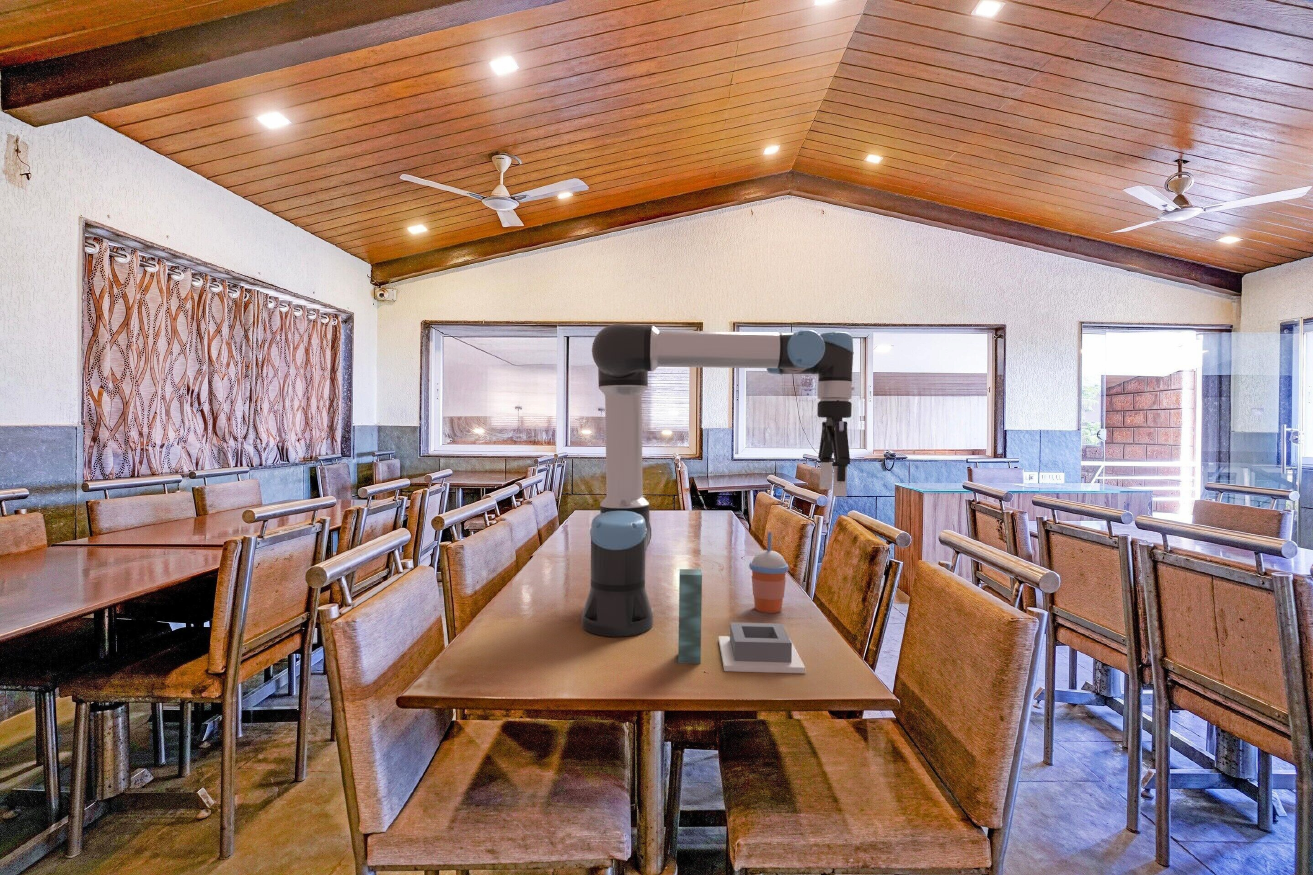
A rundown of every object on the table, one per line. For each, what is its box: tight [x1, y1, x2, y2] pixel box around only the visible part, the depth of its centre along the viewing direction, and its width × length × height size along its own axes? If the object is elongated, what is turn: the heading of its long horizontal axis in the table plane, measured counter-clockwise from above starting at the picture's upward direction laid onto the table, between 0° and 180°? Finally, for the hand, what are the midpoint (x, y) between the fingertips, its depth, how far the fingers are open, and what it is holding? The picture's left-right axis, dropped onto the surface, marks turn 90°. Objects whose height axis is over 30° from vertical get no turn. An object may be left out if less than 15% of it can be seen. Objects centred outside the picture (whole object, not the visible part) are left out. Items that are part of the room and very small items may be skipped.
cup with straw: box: [748, 531, 790, 614], centre depth 136 cm, size 9×9×18 cm
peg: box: [677, 568, 703, 664], centre depth 106 cm, size 4×4×16 cm
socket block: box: [718, 621, 806, 674], centre depth 108 cm, size 14×14×4 cm
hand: (832, 492), depth 134 cm, fingers open, 13 cm apart
